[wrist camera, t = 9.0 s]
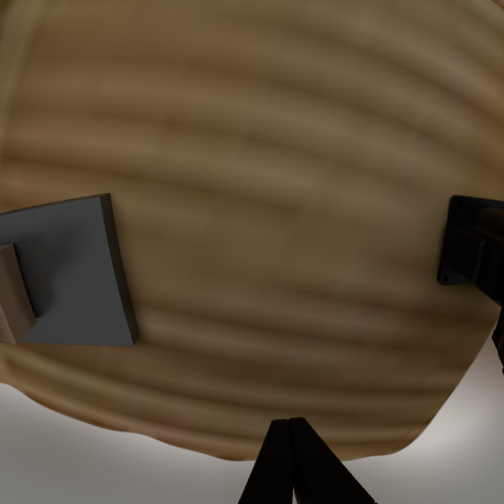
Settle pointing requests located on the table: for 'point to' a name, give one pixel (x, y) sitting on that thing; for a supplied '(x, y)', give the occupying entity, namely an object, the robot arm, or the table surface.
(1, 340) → the handle
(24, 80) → the table surface
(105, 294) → the base
